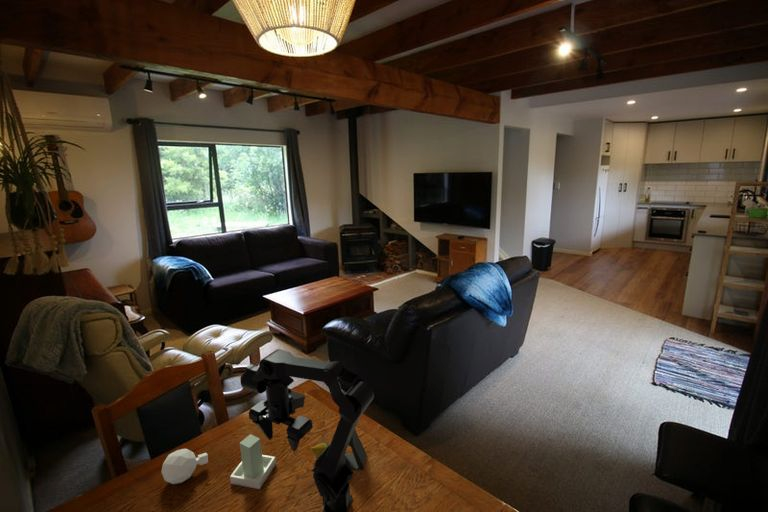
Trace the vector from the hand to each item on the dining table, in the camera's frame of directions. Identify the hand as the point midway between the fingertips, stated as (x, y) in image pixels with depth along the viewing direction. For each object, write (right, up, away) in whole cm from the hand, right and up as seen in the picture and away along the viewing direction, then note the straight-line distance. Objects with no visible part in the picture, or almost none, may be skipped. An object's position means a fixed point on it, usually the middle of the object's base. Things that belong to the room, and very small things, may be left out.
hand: (282, 444), depth 103 cm
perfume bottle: (-30, -13, +6) cm, 33 cm away
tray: (-10, -12, +7) cm, 17 cm away
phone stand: (+18, -11, +10) cm, 23 cm away
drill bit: (+9, -11, +11) cm, 18 cm away
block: (-10, -11, +6) cm, 17 cm away
